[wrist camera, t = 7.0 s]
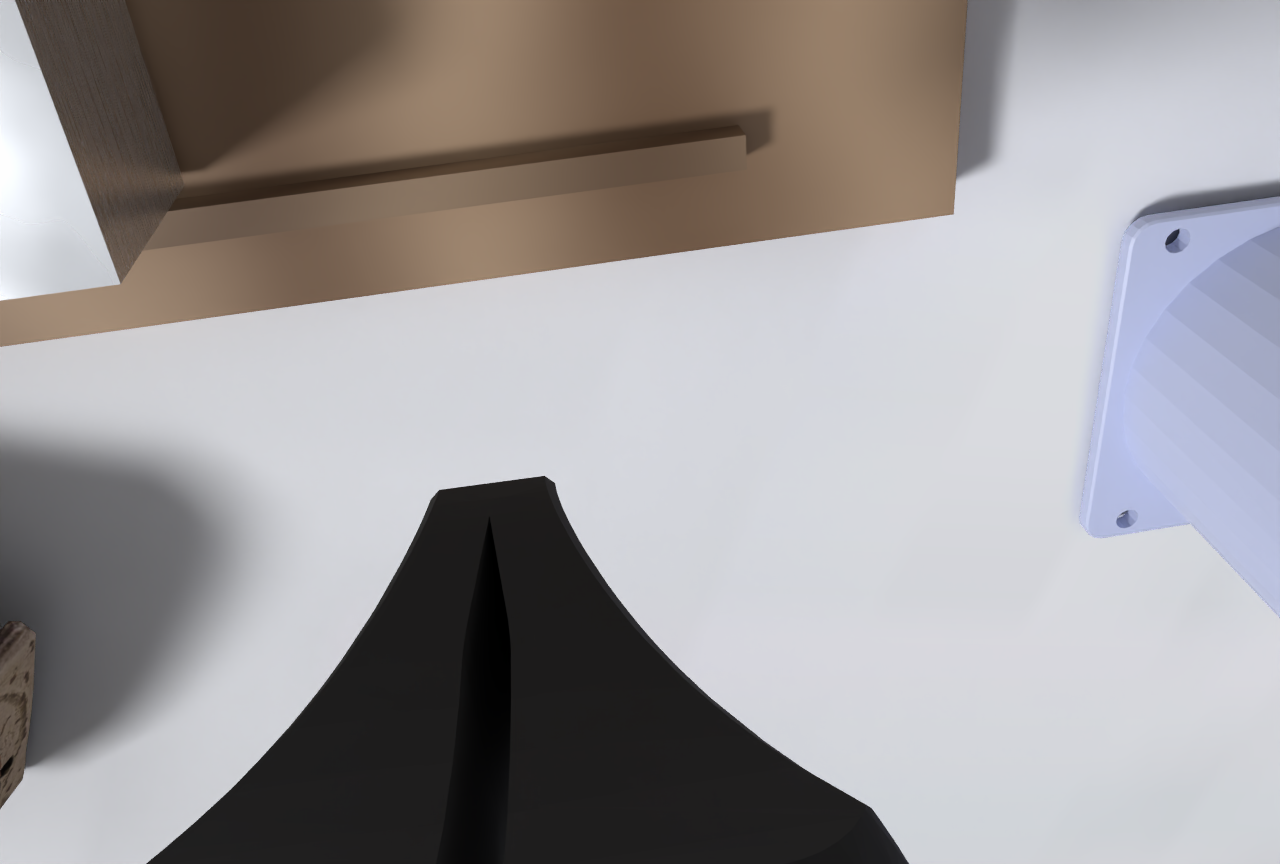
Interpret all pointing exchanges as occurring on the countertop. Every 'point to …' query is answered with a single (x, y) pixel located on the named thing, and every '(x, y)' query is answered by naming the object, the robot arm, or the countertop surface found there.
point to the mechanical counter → (15, 702)
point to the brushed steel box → (77, 147)
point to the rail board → (515, 141)
